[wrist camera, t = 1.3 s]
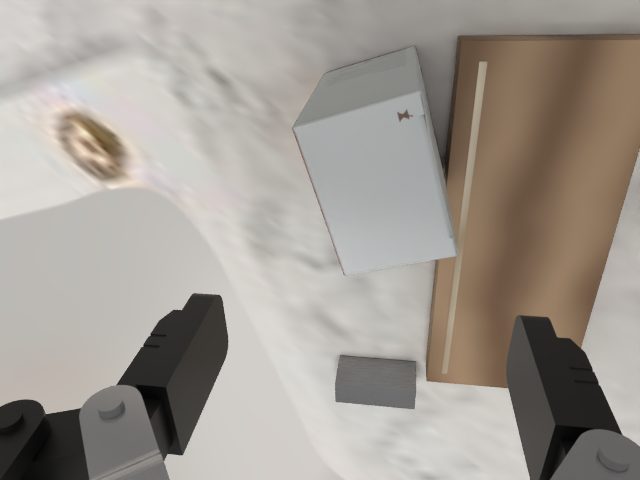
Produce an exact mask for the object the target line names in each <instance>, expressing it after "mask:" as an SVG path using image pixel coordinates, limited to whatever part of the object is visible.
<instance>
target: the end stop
mask: <svg viewBox="0 0 640 480" xmlns="http://www.w3.org/2000/svg"><path fill="white" fill-rule="evenodd" d="M335 395H336V402H343V403H354V404H365V405H375V406H386V407H396V408H407V409H414V408H415V397H416V364H415V362H413V361H401V360H388V359H376V358H364V357H351V356H340V357H339V363H338V369H337V376H336V382H335Z"/></svg>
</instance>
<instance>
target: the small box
mask: <svg viewBox="0 0 640 480" xmlns="http://www.w3.org/2000/svg"><path fill="white" fill-rule="evenodd" d="M292 130H293V132H294V135H295V138H296V140H297V143H298V146H299V149H300V152H301V155H302V158H303V160H304V163H305V166H306V169H307V171H308V174H309V177H310V180H311V183H312V186H313V188H314V191H315V194H316V197H317V200H318V203H319V205H320V208H321V211H322V214H323V217H324V219H325V222H326V225H327V228H328V231H329V234H330V236H331V239H332V242H333V245H334V248H335V251H336V254H337V256H338V259H339V262H340V265H341V268H342V271H343V274H344V275H345V276H347V275H352V274H359V273H364V272H370V271H376V270H381V269H386V268H392V267H398V266H403V265H409V264H414V263H420V262H426V261H432V260H437V259H443V258H449V257H455V256H457V254H458V248H457V242H456V237H455V232H454V226H453V221H452V215H451V210H450V205H449V200H448V194H447V189H446V183H445V177H444V172H443V168H442V163H441V159H440V154H439V150H438V145H437V141H436V137H435V132H434V128H433V123H432V119H431V114H430V109H429V105H428V100H427V96H426V91H425V86H424V82H423V77H422V73H421V68H420V64H419V59H418V55H417V51H416V48H415V46H412V47H409V48H406V49H403V50H400V51H397V52H393V53H390V54H387V55H383V56H380V57H377V58H374V59H370V60H367V61H363V62H360V63H357V64H354V65H350V66H347V67H344V68H340V69H337V70H334V71H331V72H327V73H325V74H324V75H323V77H322V78H321V80H320V82H319V83H318V85H317V87H316V88H315V90H314V92H313V93H312V95H311V97H310V98H309V100H308V102H307V103H306V105H305V107H304V108H303V110H302V112H301V113H300V115H299V117H298V119H297V120H296V122H295V124H294V125H293V127H292Z"/></svg>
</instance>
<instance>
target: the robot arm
mask: <svg viewBox="0 0 640 480" xmlns="http://www.w3.org/2000/svg"><path fill="white" fill-rule="evenodd" d="M227 350H228V334H227V327H226V321H225V314H224V307H223V301H222V298H221V296H220V295H212V294H196V293H194V294H192V296H191V297H190V298H189V300H188V302H187V303H186V305H185V306H184V308H183V310H173V311H172V312H170V313H169V314H168V315H166V316H165V317H164V318H162V319H161V320H160V321H159V322H158V323H157V325H156V327H155V328H154V329H153V331H152V332H151V336H149V337H148V338H147V340H146V341H145V343H144V346H143V347H142V348H141V349H140V351H139V352H138V354H137V355H136V356H135V358H134V359H133V361H132V362H131V364H130V366H129V367H128V368H127V370H126V371H125V373H124V375H123V376H122V377H121V379H120V380H119V382H118V384H117V385H116V386H111V387H108V388H105V389H103V390H101V391H99V392H97V393H95V394H94V395H92V396H91V397H90V398H89V399H88V400H87V401H86V402H85V403H84V405H83V406H82V408H80V409H75V410H69V411H63V412H57V413H51V414H45V411H44V409H43V407H42V406H41V404H40V403H38V402H37V401H34V400H18V401H14V402H11V403H8V404H5V405H3V406H1V407H0V480H169V476H168V473H167V470H166V467H165V464H164V460H165V458H166V456H167V454H175V455H183V453H184V451H185V449H186V447H187V444H188V442H189V440H190V437H191V435H192V433H193V431H194V429H195V426H196V424H197V422H198V419H199V417H200V415H201V413H202V410H203V408H204V406H205V404H206V401H207V399H208V397H209V394H210V392H211V390H212V388H213V386H214V383H215V381H216V379H217V376H218V374H219V372H220V370H221V367H222V365H223V363H224V361H225V358H226V355H227ZM506 377H507V384H508V388H509V392H510V397H511V401H512V405H513V409H514V413H515V417H516V422H517V426H518V430H519V434H520V438H521V442H522V447H523V451H524V455H525V459H526V463H527V468H528V472H529V476H530V480H640V447H639V446H638V445H637V444H636V443H635V442H633V441H632V440H630V439H629V438H627V437H625V436H623V435H622V433H621V431H620V428H619V426H618V424H617V422H616V420H615V417H614V415H613V413H612V411H611V409H610V406H609V404H608V402H607V400H606V398H605V395H604V393H603V391H602V389H601V387H600V386H599V385H598V380H597V378H596V376H595V373H594V372H593V371H592V367H591V364H590V362H589V360H588V358H587V356H586V353H585V352H584V351H583V350H582V349H581V348H580V347H579V346H578V345H577V344H576V343H575V342H573V341H572V340H571V339H570V338H559V337H557V336H556V333H555V330H554V328H553V325H552V323H551V321H550V319H549V318H548V317H540V316H524V315H518V316H517V317H516V319H515V323H514V327H513V332H512V337H511V342H510V347H509V352H508V357H507V363H506Z"/></svg>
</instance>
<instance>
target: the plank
mask: <svg viewBox="0 0 640 480" xmlns="http://www.w3.org/2000/svg"><path fill="white" fill-rule="evenodd" d="M639 149H640V34H613V35H505V36H458V45H457V55H456V65H455V75H454V85H453V95H452V105H451V115H450V125H449V135H448V145H447V155H446V165H445V175H444V177H445V183H446V189H447V194H448V200H449V205H450V210H451V215H452V221H453V226H454V232H455V237H456V242H457V248H458V254H457V256H455V257H449V258H443V259H437V260H436V265H435V275H434V285H433V295H432V305H431V315H430V325H429V335H428V345H427V355H426V377H427V381H431V382H443V383H454V384H466V385H478V386H489V387H501V388H508V384H507V377H506V363H507V357H508V352H509V347H510V342H511V337H512V332H513V327H514V323H515V319H516V317H517V316H518V315H524V316H540V317H548V318H549V319H550V321H551V323H552V325H553V328H554V330H555V333H556V336H557V337H559V338H570V339H571V340H572V341H573V342H575V343H576V344H577V345H578V346H579V347H580V348H581V346H582V342H583V339H584V335H585V332H586V329H587V325H588V322H589V318H590V315H591V312H592V308H593V305H594V301H595V298H596V295H597V291H598V288H599V284H600V281H601V278H602V274H603V271H604V268H605V264H606V261H607V257H608V254H609V251H610V247H611V244H612V240H613V237H614V234H615V230H616V227H617V223H618V220H619V217H620V213H621V210H622V206H623V203H624V200H625V196H626V193H627V190H628V186H629V183H630V179H631V176H632V173H633V169H634V166H635V162H636V159H637V156H638V152H639Z"/></svg>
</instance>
